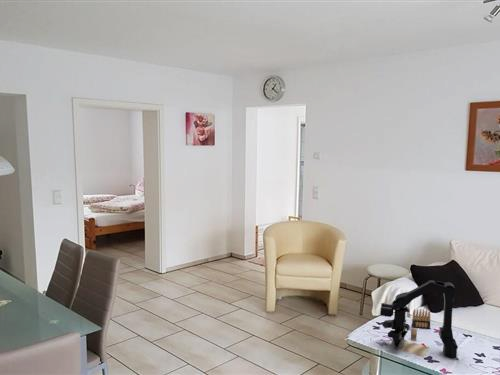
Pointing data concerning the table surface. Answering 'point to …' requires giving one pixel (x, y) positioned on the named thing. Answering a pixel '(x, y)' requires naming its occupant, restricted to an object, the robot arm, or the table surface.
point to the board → (413, 348)
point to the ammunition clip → (421, 320)
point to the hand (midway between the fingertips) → (398, 345)
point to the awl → (413, 334)
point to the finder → (399, 344)
